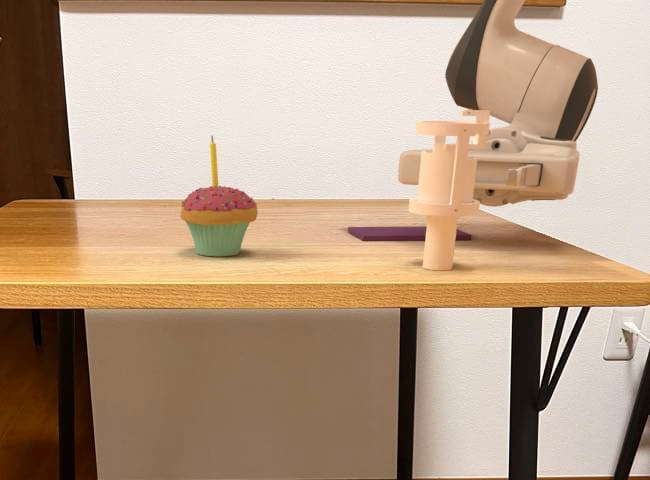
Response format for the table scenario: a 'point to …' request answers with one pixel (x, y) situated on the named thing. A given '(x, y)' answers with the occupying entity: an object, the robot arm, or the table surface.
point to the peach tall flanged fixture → (448, 183)
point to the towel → (397, 233)
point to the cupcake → (218, 216)
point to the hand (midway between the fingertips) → (470, 174)
